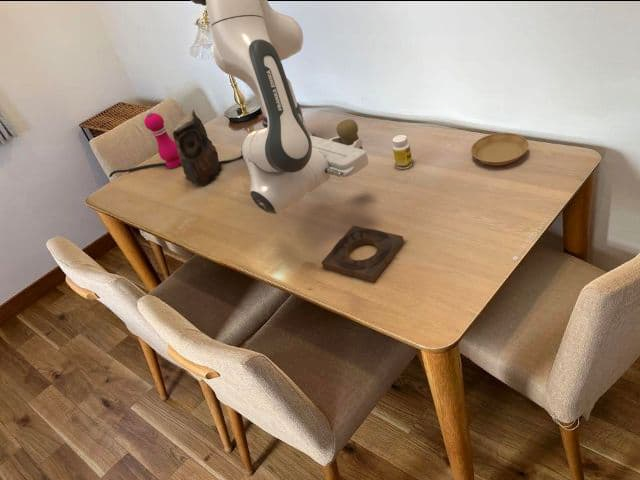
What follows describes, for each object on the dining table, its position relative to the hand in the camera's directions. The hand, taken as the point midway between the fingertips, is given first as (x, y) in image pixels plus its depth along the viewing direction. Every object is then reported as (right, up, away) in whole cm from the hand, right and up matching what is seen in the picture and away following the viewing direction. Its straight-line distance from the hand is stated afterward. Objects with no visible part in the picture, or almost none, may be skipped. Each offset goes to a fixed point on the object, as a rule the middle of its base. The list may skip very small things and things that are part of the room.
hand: (352, 139), depth 123 cm
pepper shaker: (+1, -5, +4) cm, 6 cm away
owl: (-49, -2, +40) cm, 63 cm away
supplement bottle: (+15, -3, +19) cm, 24 cm away
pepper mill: (-62, +4, +51) cm, 81 cm away
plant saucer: (+40, -2, +12) cm, 41 cm away
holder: (+3, -29, -7) cm, 30 cm away
